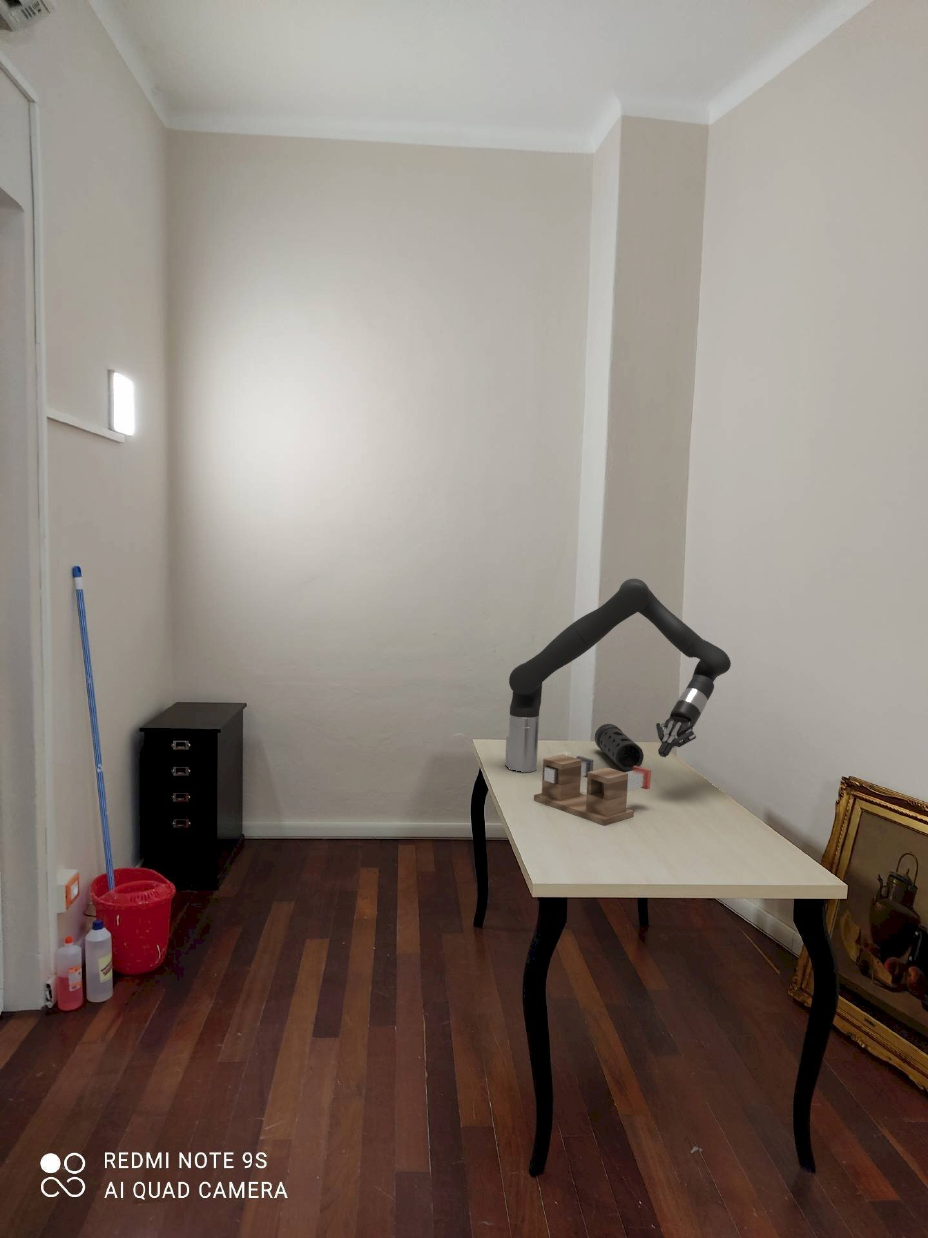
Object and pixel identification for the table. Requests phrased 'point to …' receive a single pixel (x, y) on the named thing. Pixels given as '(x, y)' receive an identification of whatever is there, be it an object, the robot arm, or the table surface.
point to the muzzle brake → (619, 747)
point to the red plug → (637, 778)
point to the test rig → (596, 802)
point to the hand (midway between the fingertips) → (661, 755)
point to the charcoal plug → (552, 772)
